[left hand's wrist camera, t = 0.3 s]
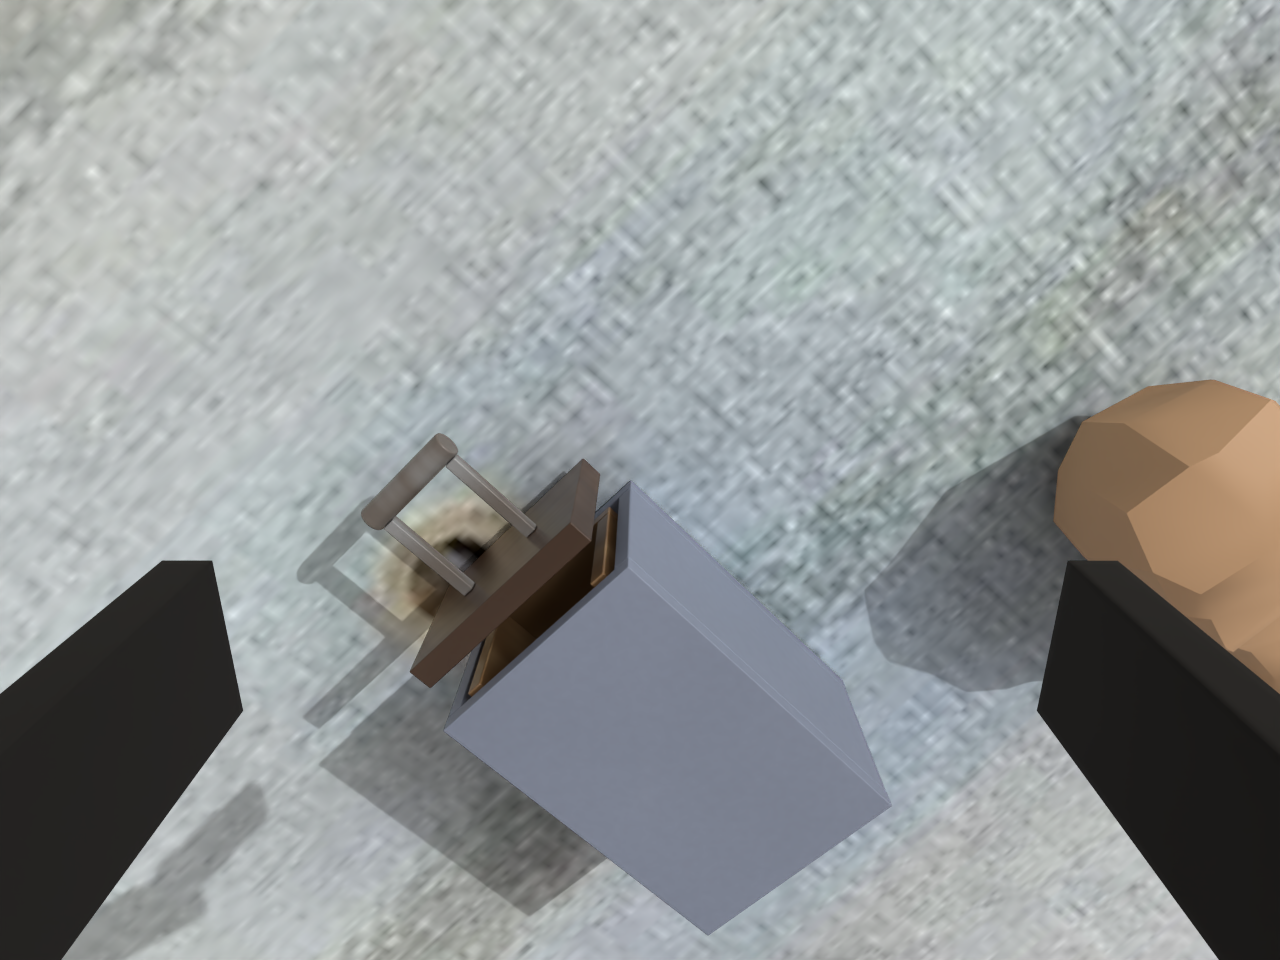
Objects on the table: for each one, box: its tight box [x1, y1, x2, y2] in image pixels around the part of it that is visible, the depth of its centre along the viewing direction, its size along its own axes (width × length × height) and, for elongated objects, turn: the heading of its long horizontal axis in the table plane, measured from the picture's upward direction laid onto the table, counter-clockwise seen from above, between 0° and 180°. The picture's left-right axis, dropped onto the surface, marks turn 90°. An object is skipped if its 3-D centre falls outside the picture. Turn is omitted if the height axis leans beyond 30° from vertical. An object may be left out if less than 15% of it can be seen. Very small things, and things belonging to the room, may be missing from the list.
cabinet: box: [443, 481, 892, 935], centre depth 41 cm, size 17×11×10 cm
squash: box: [1053, 380, 1280, 694], centre depth 39 cm, size 11×20×9 cm, turn 45°
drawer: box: [361, 433, 618, 697], centre depth 39 cm, size 22×10×8 cm, turn 45°
